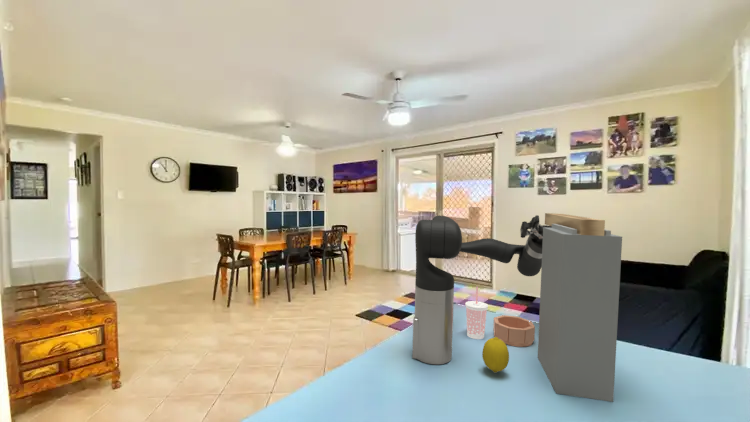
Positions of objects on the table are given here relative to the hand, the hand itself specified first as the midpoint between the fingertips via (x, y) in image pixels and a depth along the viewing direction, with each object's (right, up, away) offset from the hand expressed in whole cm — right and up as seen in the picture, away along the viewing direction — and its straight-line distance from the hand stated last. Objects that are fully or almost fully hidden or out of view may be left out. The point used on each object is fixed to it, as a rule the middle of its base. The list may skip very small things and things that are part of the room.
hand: (555, 218), depth 85 cm
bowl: (-9, -33, +5) cm, 35 cm away
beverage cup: (-19, -33, +6) cm, 39 cm away
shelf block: (-4, -34, -14) cm, 37 cm away
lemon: (-21, -34, -13) cm, 42 cm away
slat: (-3, -2, -10) cm, 11 cm away
